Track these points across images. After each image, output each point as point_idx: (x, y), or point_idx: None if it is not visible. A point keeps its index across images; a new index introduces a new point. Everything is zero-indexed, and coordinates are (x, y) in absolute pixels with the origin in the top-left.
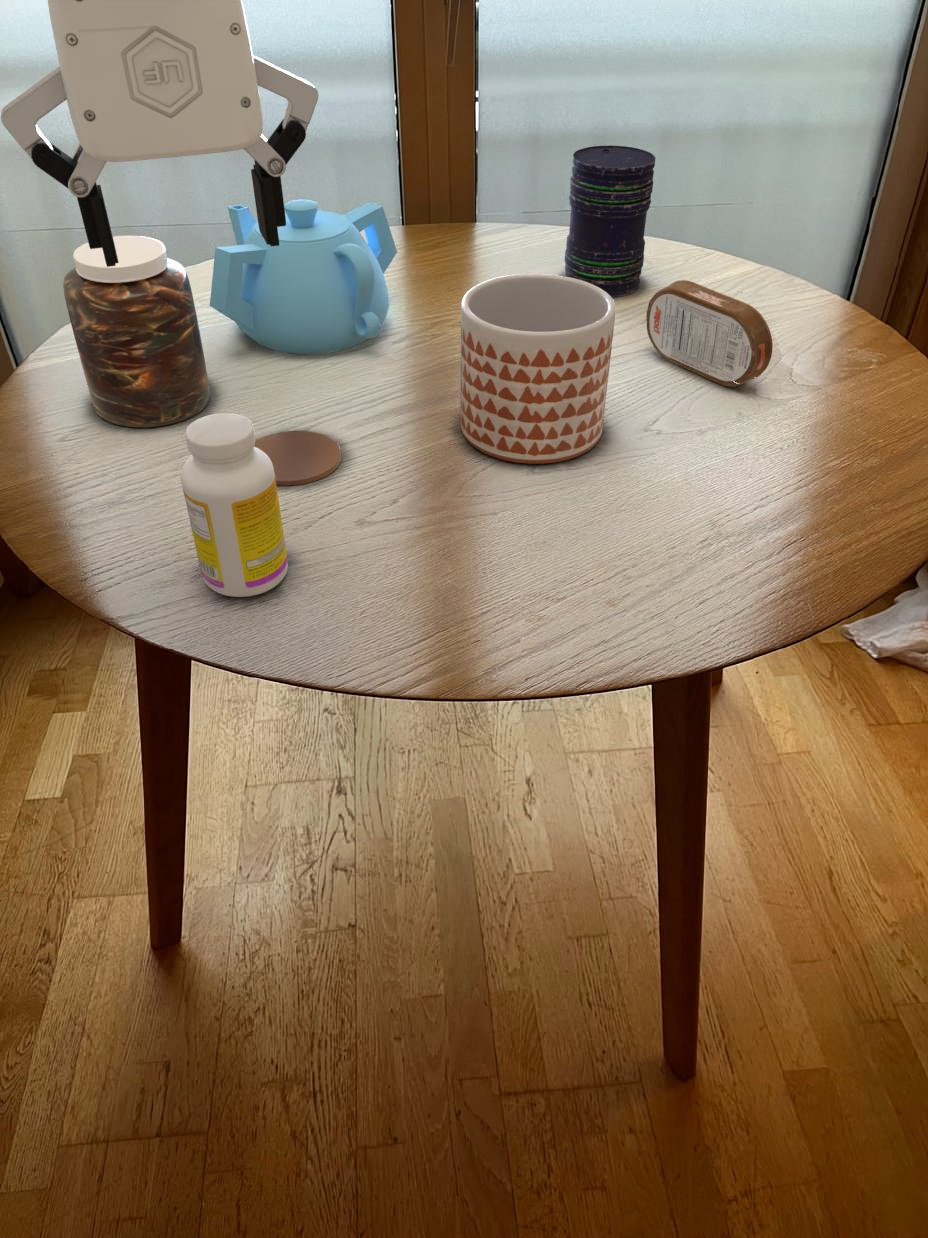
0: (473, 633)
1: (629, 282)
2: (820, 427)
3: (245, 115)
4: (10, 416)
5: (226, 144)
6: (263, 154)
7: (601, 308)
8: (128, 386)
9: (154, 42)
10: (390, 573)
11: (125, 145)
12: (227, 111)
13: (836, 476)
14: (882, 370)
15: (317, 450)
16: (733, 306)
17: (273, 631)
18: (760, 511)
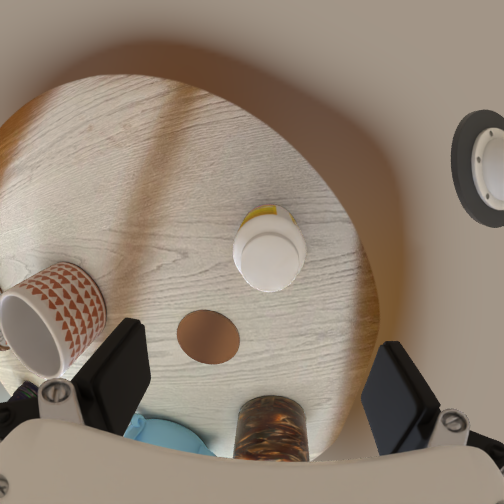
0: (160, 124)
1: (24, 384)
2: None
3: (15, 465)
4: (344, 422)
5: (103, 440)
6: (61, 414)
7: (6, 321)
8: (288, 417)
9: None
10: (183, 195)
11: (422, 475)
12: (49, 501)
13: None
14: None
15: (190, 337)
16: None
17: (268, 168)
18: (14, 181)
